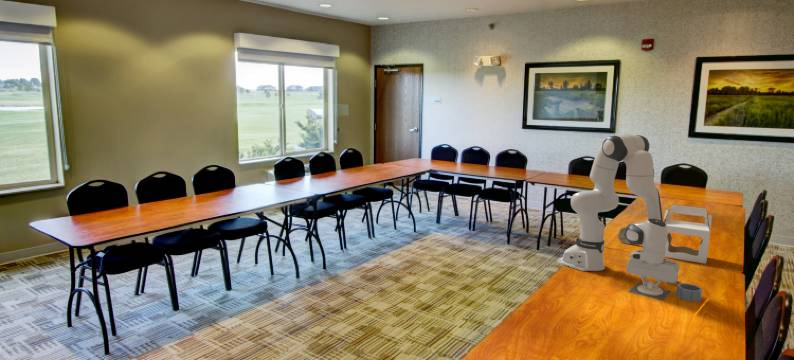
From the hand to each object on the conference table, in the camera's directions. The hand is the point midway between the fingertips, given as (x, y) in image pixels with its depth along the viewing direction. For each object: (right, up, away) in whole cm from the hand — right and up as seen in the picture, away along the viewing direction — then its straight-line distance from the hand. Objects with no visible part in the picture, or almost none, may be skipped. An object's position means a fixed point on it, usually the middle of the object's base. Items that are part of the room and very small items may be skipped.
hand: (650, 287), depth 222 cm
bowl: (+14, -4, -5) cm, 15 cm away
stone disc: (+25, +9, +77) cm, 81 cm away
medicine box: (+16, -1, +14) cm, 21 cm away
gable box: (+44, +5, +53) cm, 69 cm away
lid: (0, -2, 0) cm, 2 cm away
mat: (0, -3, 0) cm, 2 cm away
